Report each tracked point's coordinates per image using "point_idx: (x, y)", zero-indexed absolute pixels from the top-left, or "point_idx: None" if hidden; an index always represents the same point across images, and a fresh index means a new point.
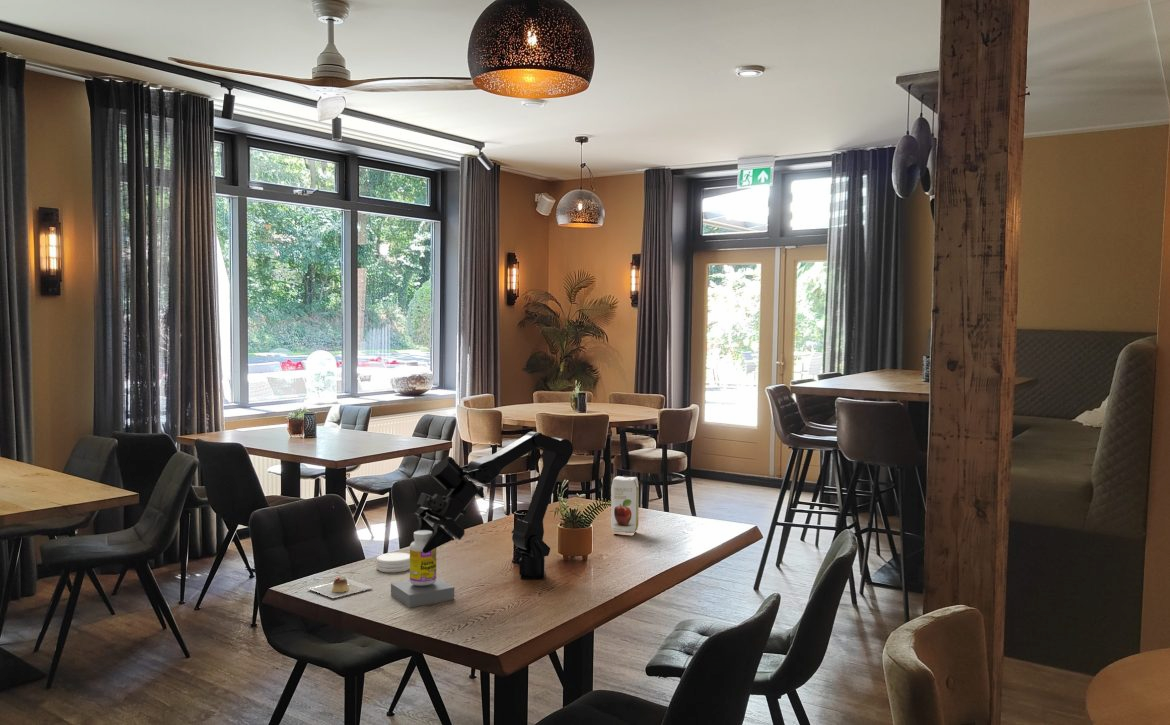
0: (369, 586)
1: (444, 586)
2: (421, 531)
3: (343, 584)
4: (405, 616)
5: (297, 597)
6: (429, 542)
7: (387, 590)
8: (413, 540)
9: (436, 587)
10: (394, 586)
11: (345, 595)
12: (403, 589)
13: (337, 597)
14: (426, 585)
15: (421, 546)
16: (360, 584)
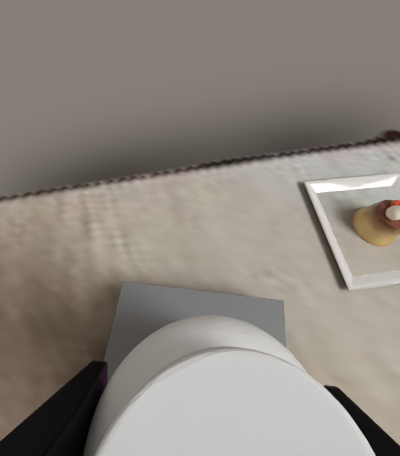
0: (363, 286)
1: None
2: None
3: (370, 217)
4: (77, 246)
5: (352, 147)
6: (2, 444)
7: (319, 321)
8: (363, 421)
9: None
10: (250, 297)
11: (316, 211)
12: (192, 298)
13: (308, 193)
14: None
15: (125, 371)
16: (395, 277)
